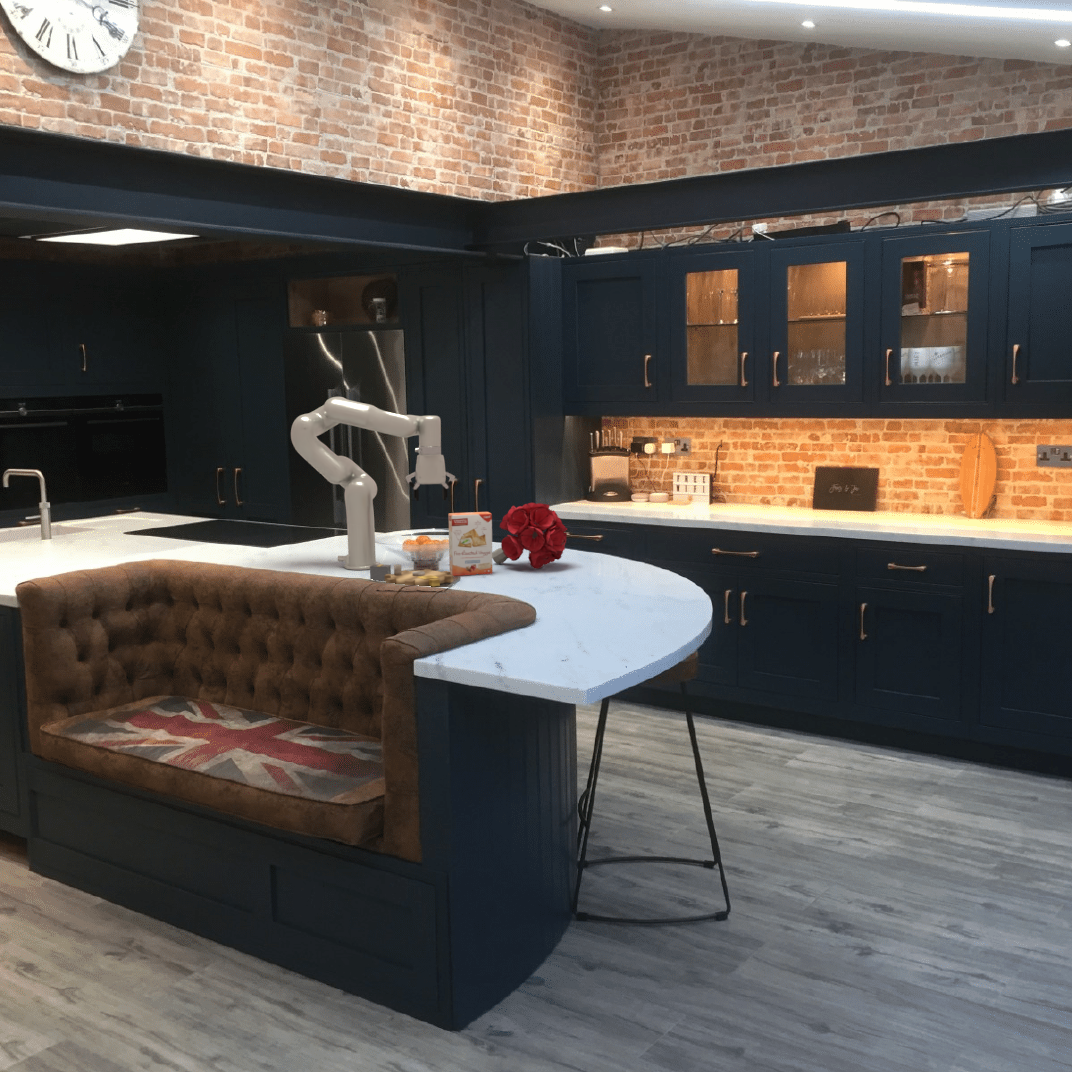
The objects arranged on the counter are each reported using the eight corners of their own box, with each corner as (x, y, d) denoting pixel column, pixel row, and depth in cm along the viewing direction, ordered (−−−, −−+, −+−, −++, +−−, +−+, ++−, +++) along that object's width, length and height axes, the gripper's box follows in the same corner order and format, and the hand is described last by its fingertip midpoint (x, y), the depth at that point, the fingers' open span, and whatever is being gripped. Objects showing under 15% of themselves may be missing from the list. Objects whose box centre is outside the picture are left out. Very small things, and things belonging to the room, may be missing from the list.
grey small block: (370, 581, 388) (369, 565, 387) (373, 579, 392) (373, 564, 391) (387, 581, 387) (387, 566, 386) (391, 579, 390) (390, 564, 390)
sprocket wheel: (375, 587, 370) (374, 570, 369) (396, 574, 391) (395, 559, 391) (443, 588, 366) (442, 571, 365) (460, 575, 387) (460, 560, 387)
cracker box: (452, 576, 393) (451, 514, 390) (449, 573, 399) (447, 512, 396) (493, 574, 397) (492, 512, 394) (489, 571, 403) (488, 510, 400)
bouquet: (489, 589, 406) (551, 551, 390) (463, 528, 411) (524, 488, 395) (526, 583, 423) (587, 547, 407) (501, 525, 429) (561, 487, 412)
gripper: (407, 452, 403) (407, 502, 405) (456, 451, 407) (456, 500, 410) (403, 450, 410) (404, 499, 412) (452, 450, 414) (452, 498, 417)
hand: (430, 500), depth 411 cm, fingers open, 9 cm apart
